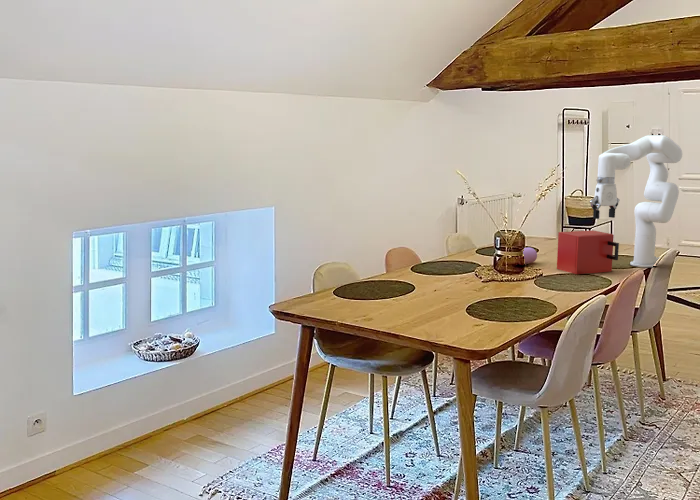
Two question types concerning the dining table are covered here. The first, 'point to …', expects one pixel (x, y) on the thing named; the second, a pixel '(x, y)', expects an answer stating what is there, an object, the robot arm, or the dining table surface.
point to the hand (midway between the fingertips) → (603, 218)
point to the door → (595, 253)
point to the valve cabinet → (570, 248)
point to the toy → (529, 255)
